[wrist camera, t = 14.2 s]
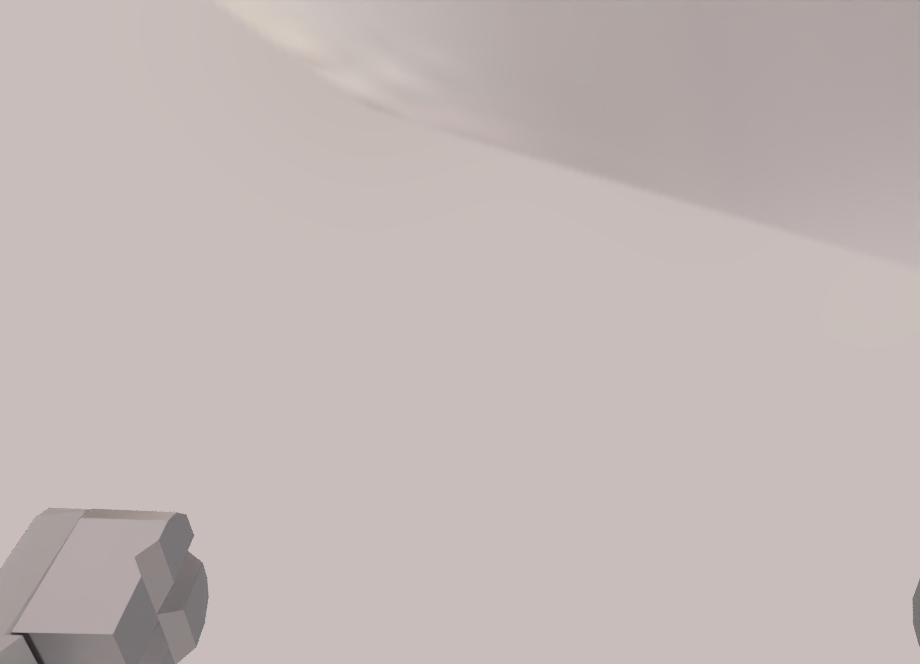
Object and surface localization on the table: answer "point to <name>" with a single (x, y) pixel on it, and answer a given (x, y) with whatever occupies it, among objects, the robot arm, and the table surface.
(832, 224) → the table surface
